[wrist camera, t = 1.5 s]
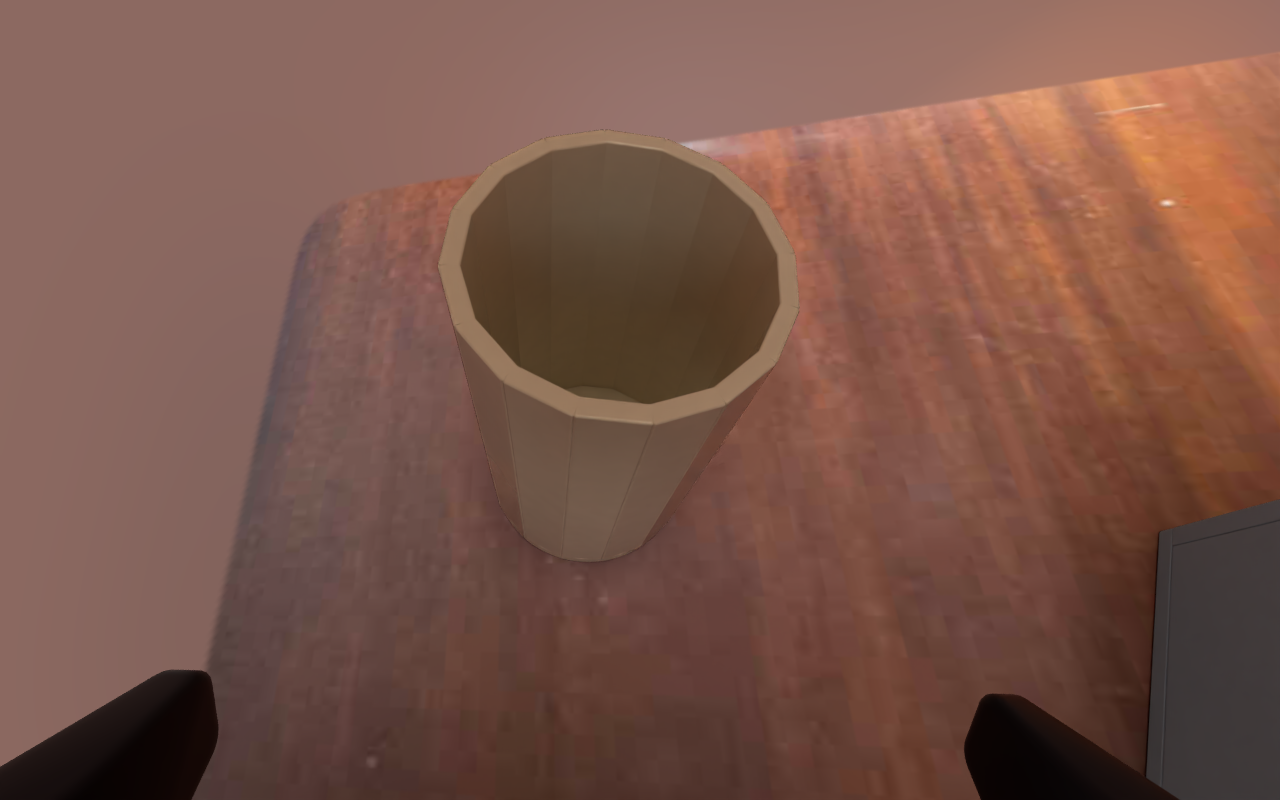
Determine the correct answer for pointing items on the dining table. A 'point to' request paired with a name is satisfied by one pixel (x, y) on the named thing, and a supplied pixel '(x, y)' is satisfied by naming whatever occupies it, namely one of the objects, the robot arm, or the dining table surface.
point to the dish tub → (1217, 658)
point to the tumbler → (611, 328)
